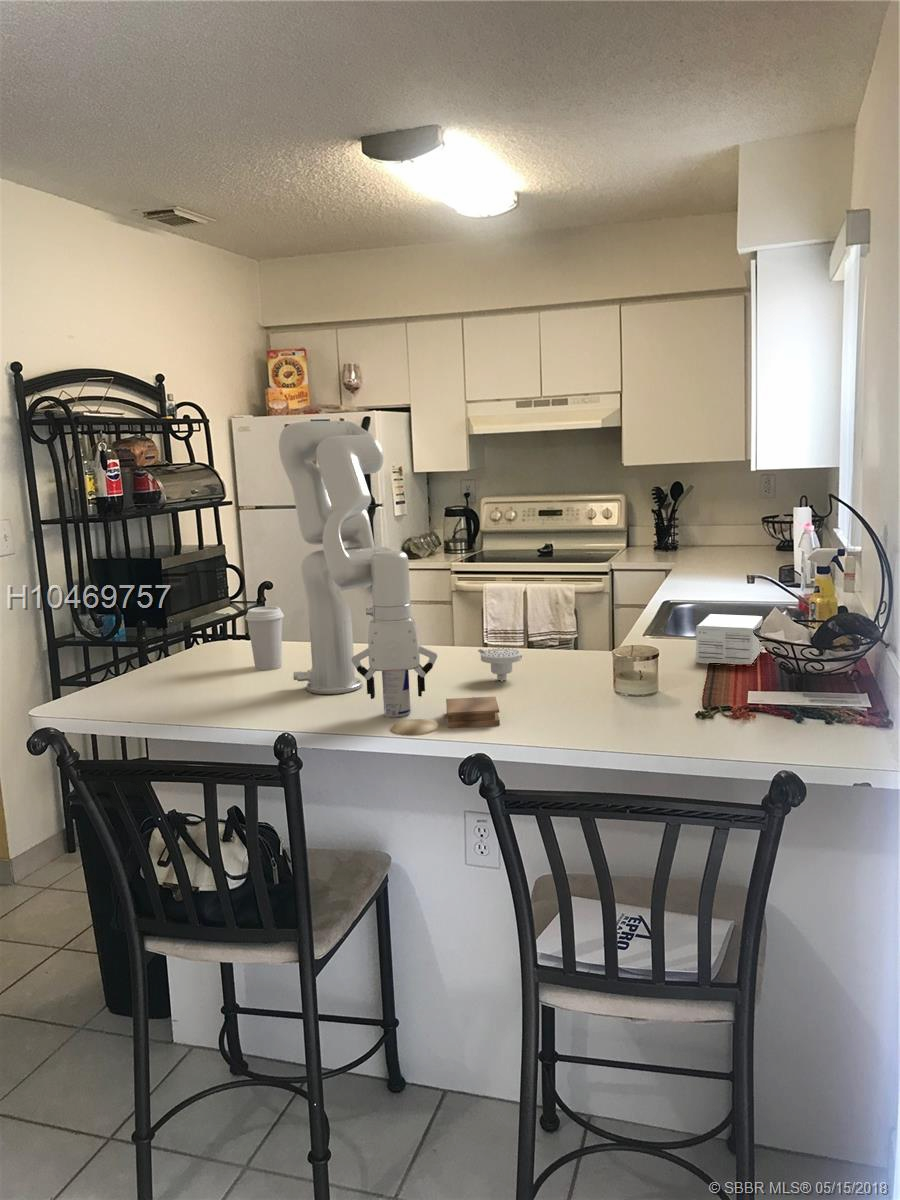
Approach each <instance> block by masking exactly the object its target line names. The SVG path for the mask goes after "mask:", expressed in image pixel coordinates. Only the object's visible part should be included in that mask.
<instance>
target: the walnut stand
mask: <svg viewBox="0 0 900 1200" xmlns="http://www.w3.org/2000/svg"><path fill="white" fill-rule="evenodd" d="M445 703H446V708H445V709H446V721H447V728H450V729H451V728H452V729H453V728H468V727H469V728H471V727H472V728H473V727H492V726H500V725H501V723H500V722H501V721H500V716H499V713H500V707H499V705H498V701H497V698H496V696H482V697H481V696H479V697H477V696H476V697H457V698H456V697H454V698H446V699H445Z"/></svg>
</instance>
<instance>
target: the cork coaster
mask: <svg viewBox="0 0 900 1200" xmlns="http://www.w3.org/2000/svg"><path fill="white" fill-rule="evenodd" d="M439 728H440V727H439V723H438V722H437V721H435V720H432V719H425V718H416V719H415V718H413V719H406V720H401V721H398V722H396V723H394V724H392V725H391V730H392V732H393V733H395V734H397V735H402V736H420V735H421V736H422V735H427V734H431V733H433V732H435V731H437V730H438V729H439Z"/></svg>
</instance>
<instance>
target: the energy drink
mask: <svg viewBox="0 0 900 1200" xmlns="http://www.w3.org/2000/svg"><path fill="white" fill-rule="evenodd" d="M409 671H410V670H390V671H381V681H382V694H383V695H382V696H383V699H382V700H383V712H384V713H383V715H385V716H386V717H387V716H389V717H388V718H392V717H398V718H403V717H402V716H405V717H407V716H409V715H410V714H411V713H412V712H411V696H410V694H411V693H410V675H409V673H410V672H409ZM408 714H409V715H408ZM406 715H407V716H406Z"/></svg>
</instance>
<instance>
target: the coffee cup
mask: <svg viewBox="0 0 900 1200" xmlns="http://www.w3.org/2000/svg"><path fill="white" fill-rule="evenodd" d="M284 617H285V615H284V613H283V611H282V609H281V608H280V607H279V606H274V605H273V606H269V605H268V606H257V607H252V608H249V609H248V610H247V613H246V615H245V617H244V618H245V619H244V620H245V621H247V625H248V626H247V627H248V631H249V639H250V644H251V651H252V655H253V656H252V657H253V662H254V668H255V670H256V669H257V671H272V670H273V669H274V670H277V668H278V669H280V668H282V653H283V652H282V650H283V649H282V648H283V647H282V645H283V641H282V640H283V637H282V636H283V634H282V633H283V618H284Z"/></svg>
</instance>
